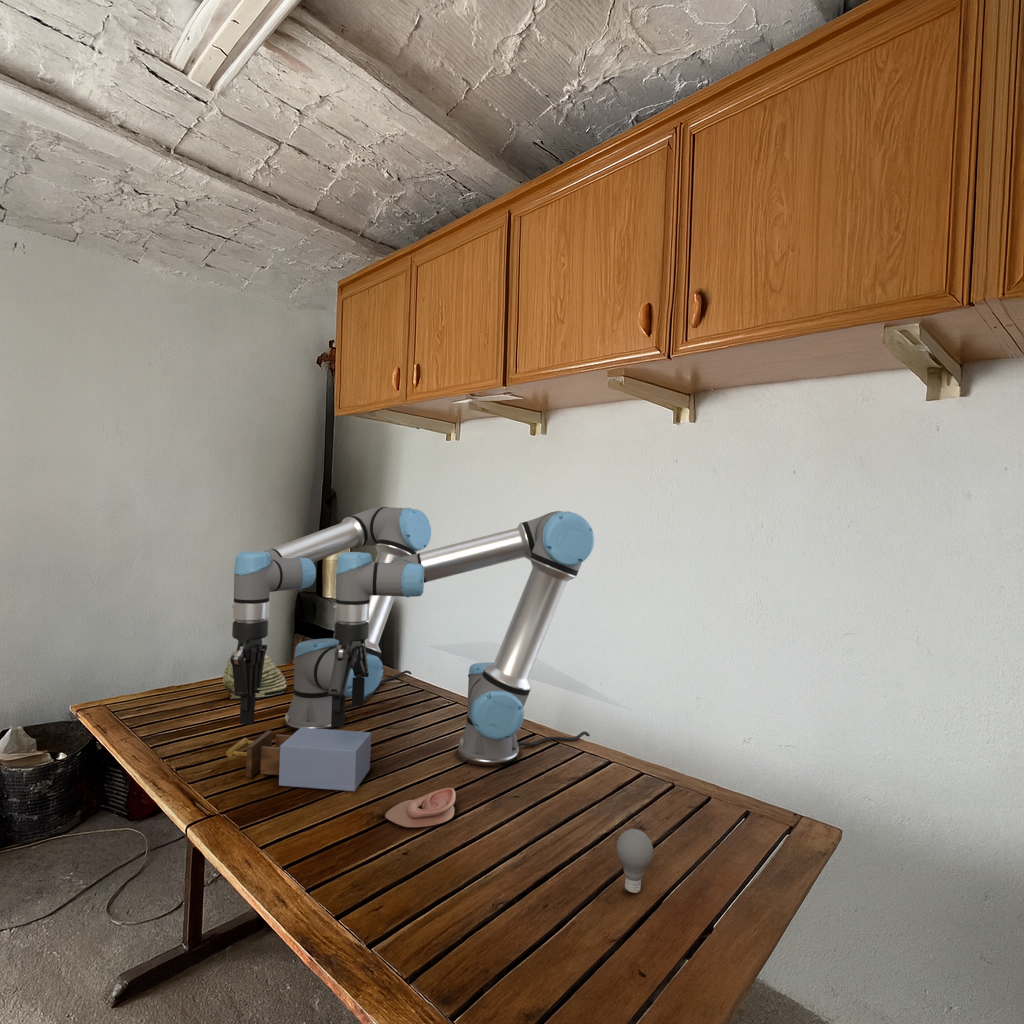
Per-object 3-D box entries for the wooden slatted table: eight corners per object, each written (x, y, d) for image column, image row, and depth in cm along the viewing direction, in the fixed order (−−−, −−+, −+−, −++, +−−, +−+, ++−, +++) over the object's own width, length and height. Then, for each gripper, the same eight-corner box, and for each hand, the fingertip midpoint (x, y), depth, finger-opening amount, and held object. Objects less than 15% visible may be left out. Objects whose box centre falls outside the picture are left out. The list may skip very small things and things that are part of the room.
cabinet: (278, 785, 138) (280, 745, 138) (299, 764, 149) (300, 727, 149) (354, 791, 137) (356, 751, 137) (369, 769, 148) (371, 732, 148)
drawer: (221, 775, 140) (222, 745, 139) (244, 756, 150) (245, 728, 149) (314, 782, 138) (315, 751, 138) (330, 763, 148) (331, 734, 148)
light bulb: (610, 879, 108) (613, 822, 108) (644, 879, 109) (647, 822, 109) (619, 902, 102) (622, 840, 102) (655, 901, 103) (658, 840, 103)
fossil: (218, 695, 195) (220, 647, 195) (278, 685, 208) (279, 640, 207) (228, 703, 189) (230, 653, 188) (289, 692, 201) (290, 645, 201)
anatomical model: (379, 803, 124) (401, 778, 135) (378, 823, 124) (400, 796, 135) (444, 812, 121) (461, 786, 132) (443, 833, 121) (460, 805, 132)
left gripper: (248, 613, 150) (245, 712, 151) (219, 624, 137) (215, 732, 138) (279, 615, 150) (275, 714, 150) (253, 626, 137) (249, 734, 137)
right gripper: (353, 610, 155) (349, 697, 155) (314, 631, 130) (310, 734, 130) (383, 612, 154) (379, 699, 155) (350, 633, 129) (346, 736, 130)
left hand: (246, 722), depth 144 cm, fingers closed
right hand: (348, 715), depth 142 cm, fingers open, 13 cm apart
